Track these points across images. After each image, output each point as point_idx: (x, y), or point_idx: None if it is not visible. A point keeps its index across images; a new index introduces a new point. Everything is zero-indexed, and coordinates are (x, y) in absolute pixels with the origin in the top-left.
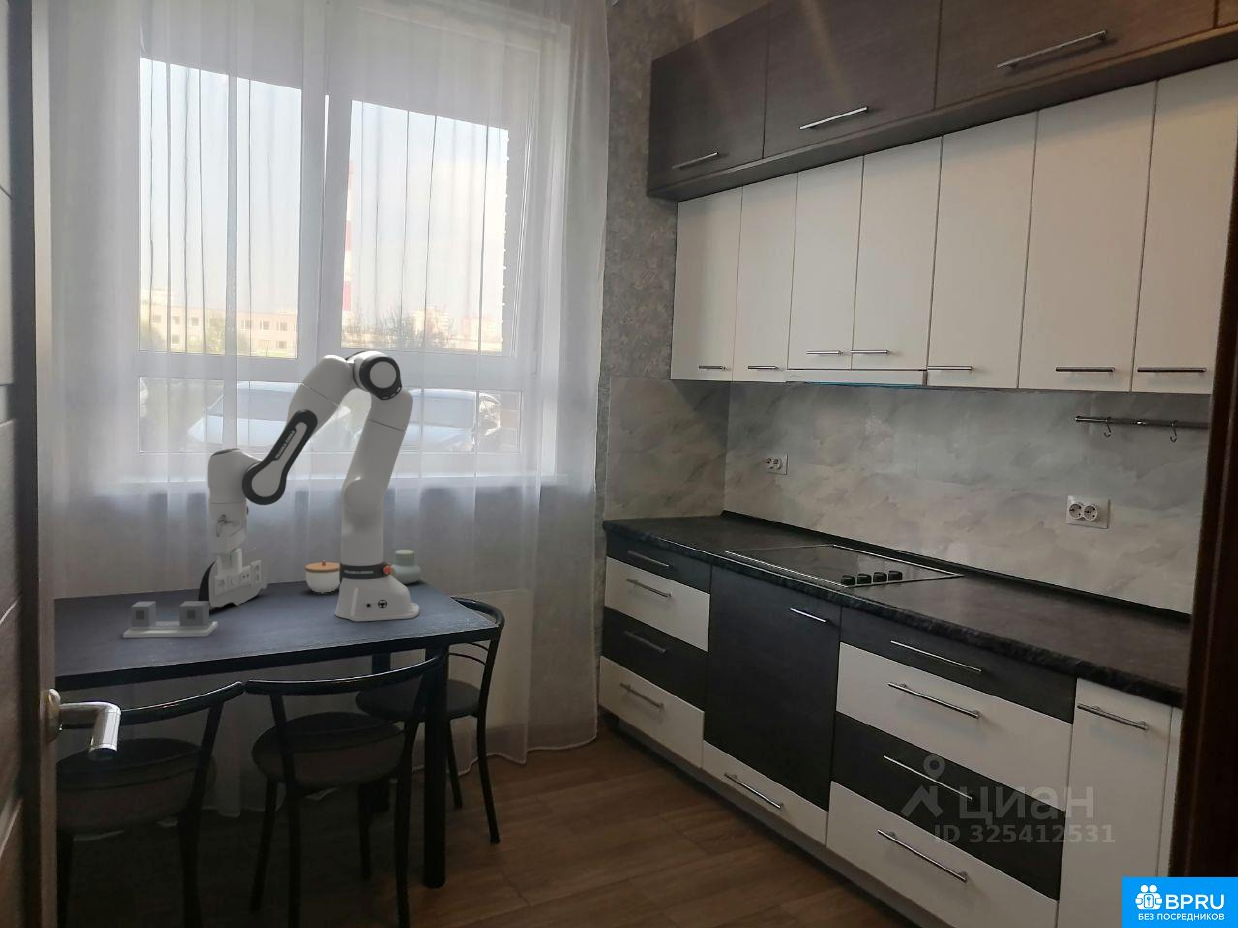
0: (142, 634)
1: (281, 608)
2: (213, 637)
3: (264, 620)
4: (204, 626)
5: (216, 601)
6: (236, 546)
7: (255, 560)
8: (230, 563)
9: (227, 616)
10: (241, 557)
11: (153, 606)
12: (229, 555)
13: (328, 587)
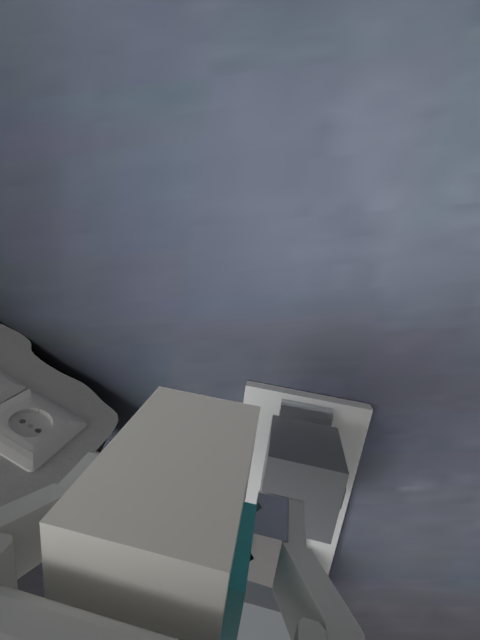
0: (333, 553)
1: (61, 202)
2: (386, 386)
3: (208, 247)
4: (331, 422)
5: (89, 406)
6: (106, 634)
7: None
8: (275, 521)
9: (145, 359)
10: (116, 453)
11: (264, 594)
12: (334, 628)
13: None
